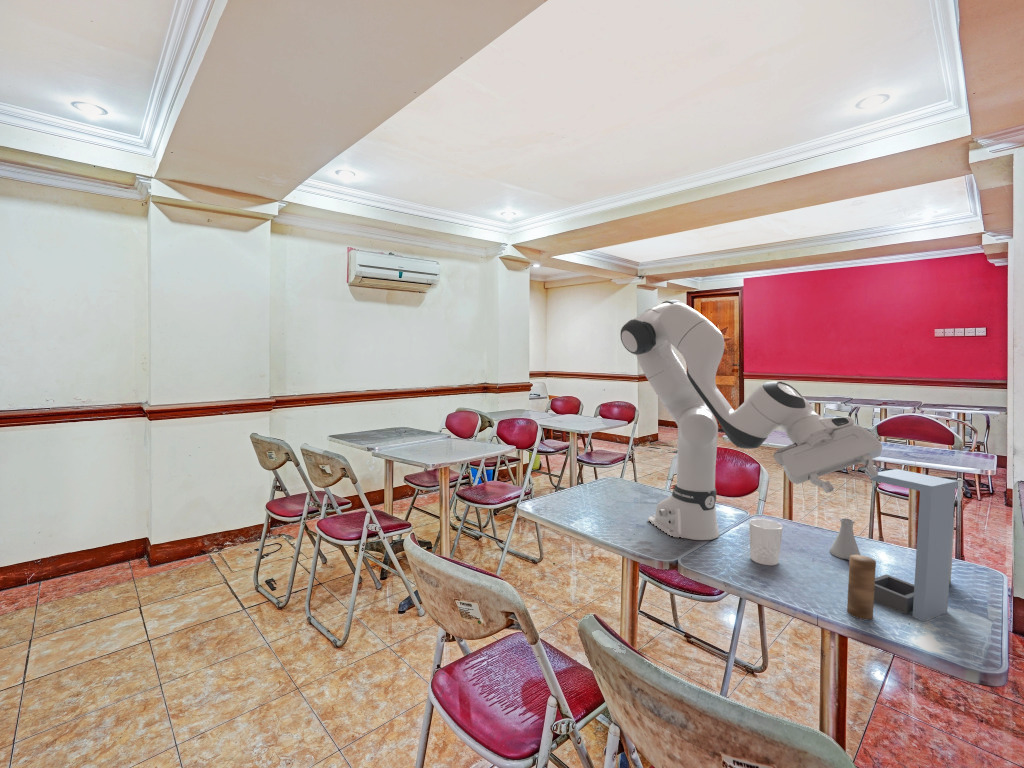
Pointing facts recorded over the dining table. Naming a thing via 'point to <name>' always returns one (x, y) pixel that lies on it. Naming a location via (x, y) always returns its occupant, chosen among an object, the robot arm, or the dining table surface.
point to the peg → (861, 586)
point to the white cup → (765, 541)
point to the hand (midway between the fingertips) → (852, 483)
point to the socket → (894, 593)
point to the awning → (929, 538)
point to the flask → (845, 541)
